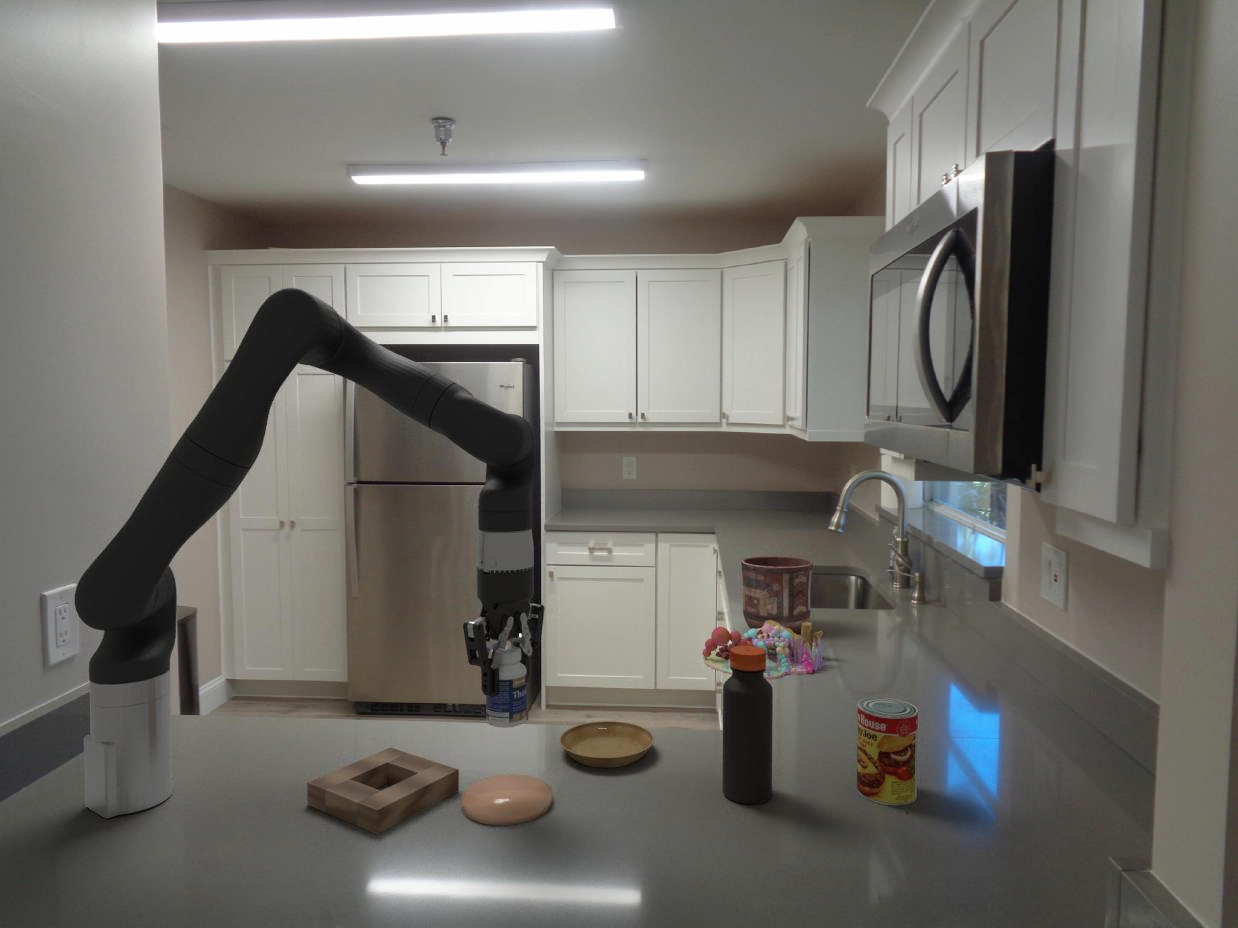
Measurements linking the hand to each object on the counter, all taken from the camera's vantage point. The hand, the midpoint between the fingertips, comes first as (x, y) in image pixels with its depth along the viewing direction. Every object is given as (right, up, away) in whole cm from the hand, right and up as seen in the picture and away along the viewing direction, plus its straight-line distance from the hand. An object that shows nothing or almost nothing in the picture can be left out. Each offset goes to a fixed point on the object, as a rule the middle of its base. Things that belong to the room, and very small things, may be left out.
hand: (506, 688), depth 103 cm
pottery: (+55, -13, +92) cm, 108 cm away
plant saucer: (+13, -15, +17) cm, 27 cm away
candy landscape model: (+47, -14, +65) cm, 82 cm away
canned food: (+52, -16, +4) cm, 55 cm away
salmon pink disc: (0, -16, +1) cm, 16 cm away
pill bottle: (0, -5, 0) cm, 5 cm away
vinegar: (+33, -16, +3) cm, 36 cm away
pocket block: (-17, -15, +2) cm, 23 cm away
